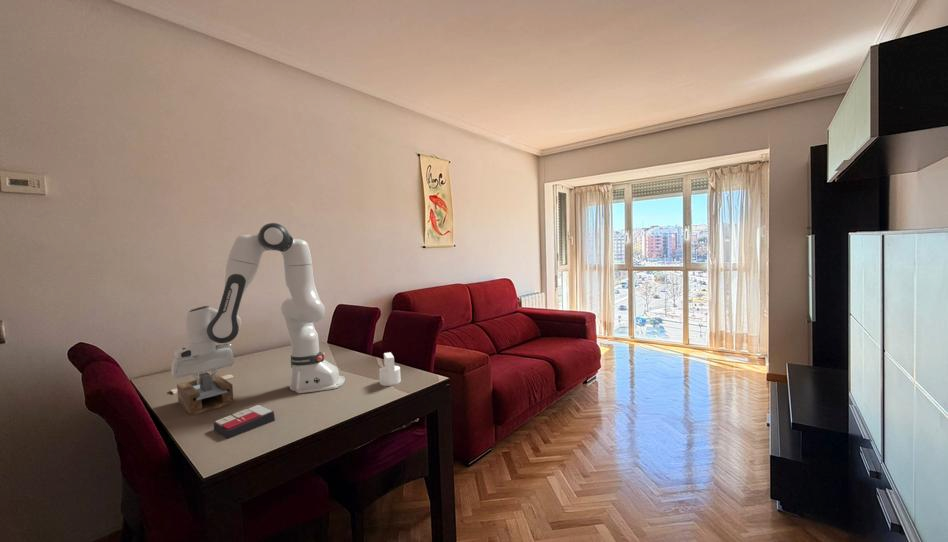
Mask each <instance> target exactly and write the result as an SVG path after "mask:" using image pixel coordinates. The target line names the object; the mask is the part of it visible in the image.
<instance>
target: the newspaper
mask: <svg viewBox="0 0 948 542" xmlns="http://www.w3.org/2000/svg"><path fill="white" fill-rule="evenodd" d="M221 377H222V378H223V379H225V380H226V381H228V380H232V379H234V378H235V377H234V375H232V374H230V373H229V374H225V375H223V376H221ZM169 392H171V393H172V394H173V395H178V392H177V387H176V388H173V389H169V390H168V393H169Z"/></svg>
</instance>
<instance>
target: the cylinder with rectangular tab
mask: <svg viewBox="0 0 948 542" xmlns="http://www.w3.org/2000/svg"><path fill="white" fill-rule="evenodd" d="M383 362H384V363H383V364H384V366H382V367H380V368H379V369H378V372H379V384H380V385H381V386H384V387H387V386H388V387H391V386H396V385H398V384H400V383H401V381H402V379H401V367H400V366H399V365H395V357H394V355H393V353H392V351H391V352H390V351H389V352H384V353H383Z"/></svg>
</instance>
